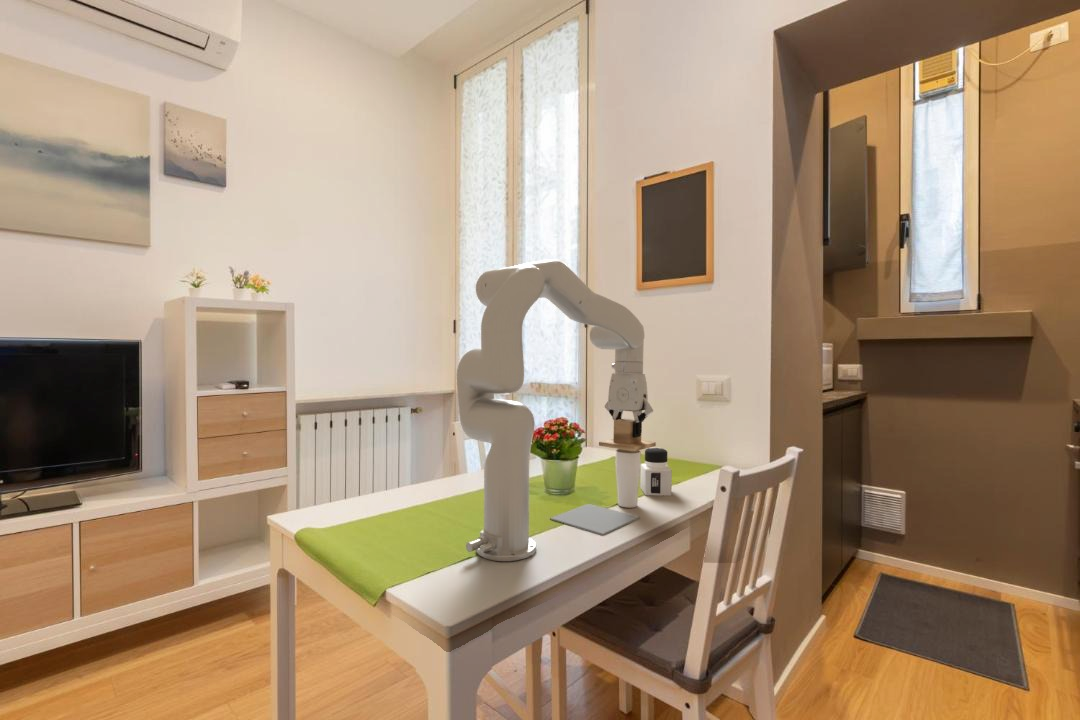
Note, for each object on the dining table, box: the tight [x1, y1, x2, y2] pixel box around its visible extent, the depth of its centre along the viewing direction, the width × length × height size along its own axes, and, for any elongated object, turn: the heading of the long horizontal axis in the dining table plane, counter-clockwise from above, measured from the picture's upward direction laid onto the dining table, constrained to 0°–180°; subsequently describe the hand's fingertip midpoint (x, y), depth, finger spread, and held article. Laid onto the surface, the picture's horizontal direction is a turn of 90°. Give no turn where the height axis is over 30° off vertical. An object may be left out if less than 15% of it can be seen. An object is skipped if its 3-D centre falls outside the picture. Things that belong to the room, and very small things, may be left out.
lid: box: [598, 417, 657, 451], centre depth 140 cm, size 11×11×7 cm
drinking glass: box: [614, 449, 642, 509], centre depth 140 cm, size 7×7×15 cm
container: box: [639, 447, 673, 497], centre depth 154 cm, size 8×8×13 cm
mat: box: [549, 503, 641, 536], centre depth 130 cm, size 16×16×1 cm
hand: (627, 434), depth 140 cm, fingers closed on lid, 5 cm apart
